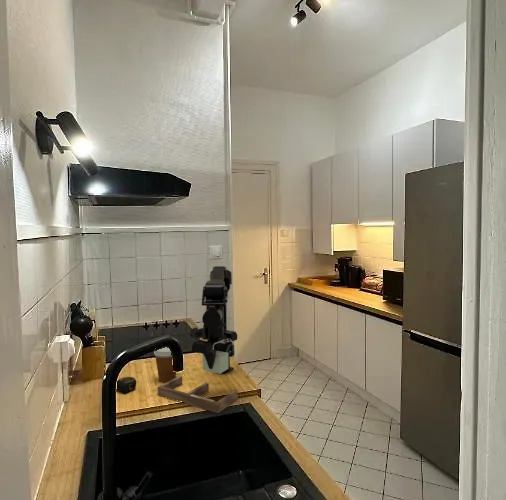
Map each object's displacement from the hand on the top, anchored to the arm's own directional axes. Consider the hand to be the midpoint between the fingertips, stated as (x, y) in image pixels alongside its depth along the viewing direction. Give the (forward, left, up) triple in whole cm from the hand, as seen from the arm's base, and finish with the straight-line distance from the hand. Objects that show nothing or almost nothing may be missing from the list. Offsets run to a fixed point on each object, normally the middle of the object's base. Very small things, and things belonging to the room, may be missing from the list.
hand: (215, 366), depth 125 cm
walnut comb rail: (+2, -6, -11) cm, 13 cm away
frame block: (0, 0, -1) cm, 1 cm away
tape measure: (+11, -32, -11) cm, 35 cm away
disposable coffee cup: (-4, -26, -11) cm, 29 cm away
